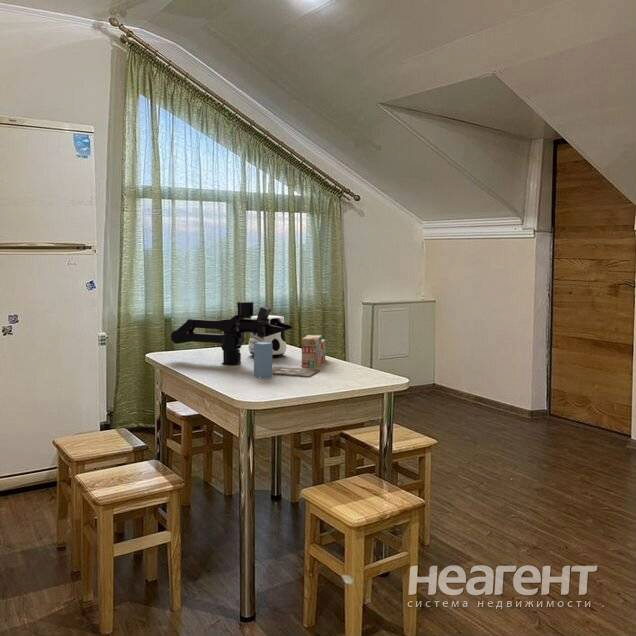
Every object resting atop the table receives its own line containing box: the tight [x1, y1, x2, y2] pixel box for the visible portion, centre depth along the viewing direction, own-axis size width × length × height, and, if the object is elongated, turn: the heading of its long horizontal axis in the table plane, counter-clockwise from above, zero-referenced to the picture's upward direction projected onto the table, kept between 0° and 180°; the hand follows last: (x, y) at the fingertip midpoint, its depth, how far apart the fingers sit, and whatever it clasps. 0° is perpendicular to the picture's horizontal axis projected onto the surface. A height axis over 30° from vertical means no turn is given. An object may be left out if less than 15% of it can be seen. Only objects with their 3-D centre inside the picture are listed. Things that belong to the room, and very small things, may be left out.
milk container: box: [248, 314, 287, 358], centre depth 298 cm, size 17×17×18 cm
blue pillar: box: [253, 342, 273, 379], centre depth 248 cm, size 5×5×13 cm
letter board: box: [272, 366, 321, 378], centre depth 258 cm, size 20×14×1 cm
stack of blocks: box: [301, 334, 327, 368], centre depth 280 cm, size 21×6×12 cm, turn 169°
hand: (288, 328), depth 267 cm, fingers open, 9 cm apart
